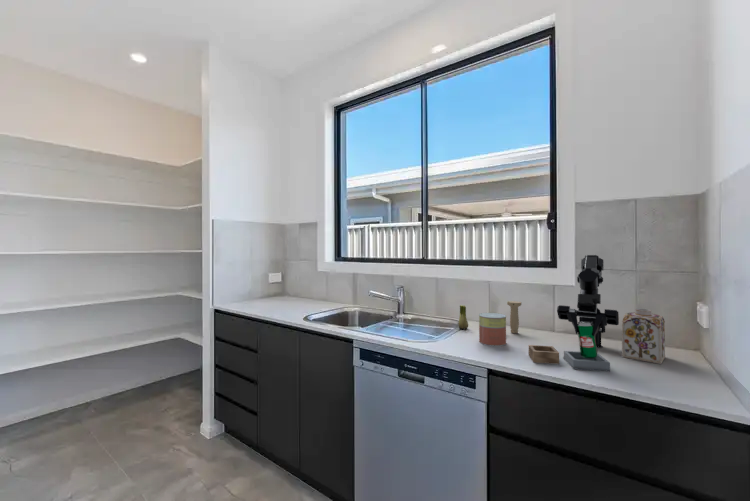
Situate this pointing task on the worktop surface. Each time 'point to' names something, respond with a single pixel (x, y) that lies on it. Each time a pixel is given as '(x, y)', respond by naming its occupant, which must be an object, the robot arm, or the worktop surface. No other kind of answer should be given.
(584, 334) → the soda can
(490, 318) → the canned food
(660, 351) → the decorative jar
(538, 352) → the wooden box
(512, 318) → the handle
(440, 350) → the worktop surface
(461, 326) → the fennel bulb
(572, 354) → the tray
